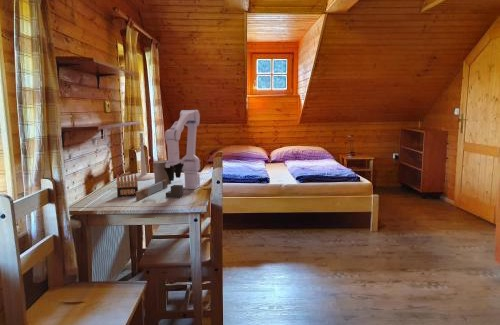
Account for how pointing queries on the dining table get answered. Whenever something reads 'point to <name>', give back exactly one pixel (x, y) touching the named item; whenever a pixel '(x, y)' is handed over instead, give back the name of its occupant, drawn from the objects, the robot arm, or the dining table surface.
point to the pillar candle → (160, 171)
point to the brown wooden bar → (144, 192)
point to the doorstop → (175, 191)
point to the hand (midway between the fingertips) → (174, 179)
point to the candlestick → (143, 163)
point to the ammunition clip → (127, 186)
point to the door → (155, 188)
